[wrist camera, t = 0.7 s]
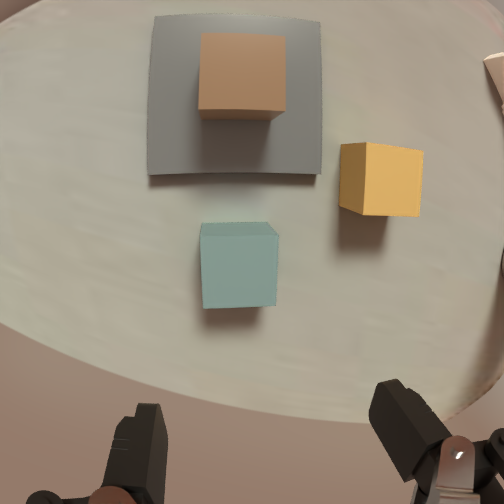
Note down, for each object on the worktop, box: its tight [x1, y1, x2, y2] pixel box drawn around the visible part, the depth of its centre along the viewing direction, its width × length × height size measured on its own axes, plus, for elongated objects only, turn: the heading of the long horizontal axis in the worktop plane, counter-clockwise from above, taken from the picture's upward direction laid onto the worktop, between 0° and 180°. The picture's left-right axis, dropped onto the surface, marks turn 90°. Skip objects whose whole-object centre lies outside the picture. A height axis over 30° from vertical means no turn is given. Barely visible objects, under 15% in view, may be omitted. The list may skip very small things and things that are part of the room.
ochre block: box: [339, 142, 423, 217], centre depth 25 cm, size 6×6×5 cm
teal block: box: [200, 222, 279, 309], centre depth 25 cm, size 6×6×5 cm
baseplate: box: [147, 13, 322, 175], centre depth 20 cm, size 14×14×6 cm
